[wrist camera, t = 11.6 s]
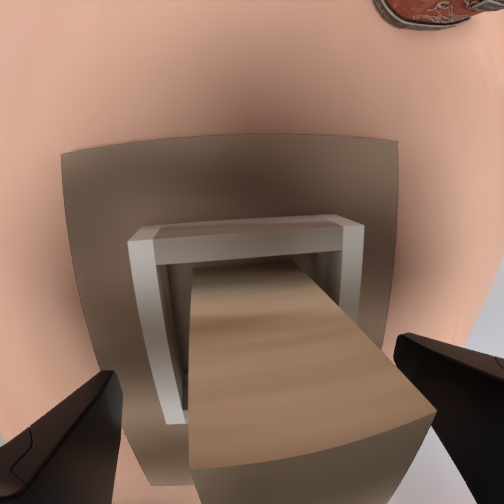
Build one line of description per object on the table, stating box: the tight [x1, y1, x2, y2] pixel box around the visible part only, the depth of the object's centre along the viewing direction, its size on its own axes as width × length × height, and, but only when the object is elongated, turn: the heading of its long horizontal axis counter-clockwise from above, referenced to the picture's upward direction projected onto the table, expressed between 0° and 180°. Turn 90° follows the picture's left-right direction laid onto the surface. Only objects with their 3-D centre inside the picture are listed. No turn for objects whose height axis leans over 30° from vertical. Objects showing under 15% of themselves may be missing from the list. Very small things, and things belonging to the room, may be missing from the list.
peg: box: [188, 260, 437, 504], centre depth 8 cm, size 4×4×9 cm
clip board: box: [61, 134, 398, 486], centre depth 13 cm, size 20×14×4 cm
